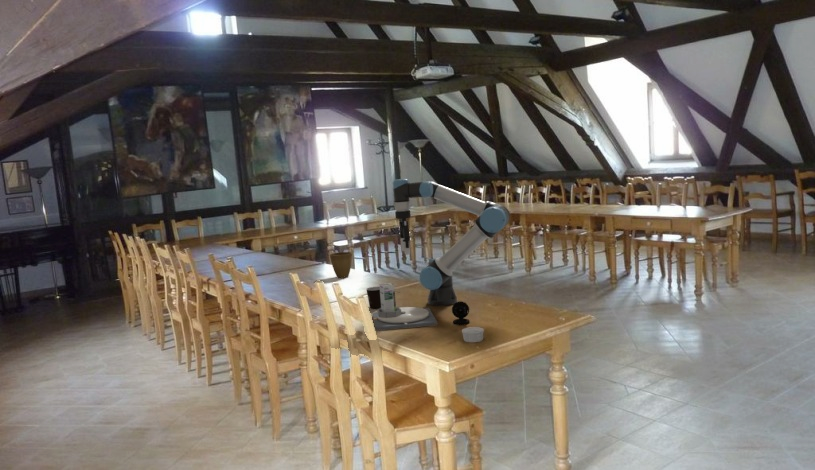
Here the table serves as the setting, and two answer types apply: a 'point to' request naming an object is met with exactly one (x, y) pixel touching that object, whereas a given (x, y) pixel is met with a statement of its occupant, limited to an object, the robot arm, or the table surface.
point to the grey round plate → (403, 315)
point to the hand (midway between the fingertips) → (405, 252)
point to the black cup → (374, 297)
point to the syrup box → (387, 297)
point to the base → (385, 326)
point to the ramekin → (473, 334)
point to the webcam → (460, 313)
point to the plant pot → (341, 263)
